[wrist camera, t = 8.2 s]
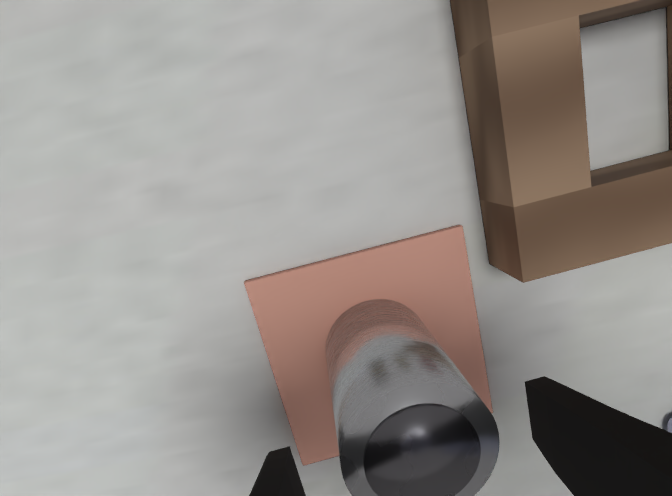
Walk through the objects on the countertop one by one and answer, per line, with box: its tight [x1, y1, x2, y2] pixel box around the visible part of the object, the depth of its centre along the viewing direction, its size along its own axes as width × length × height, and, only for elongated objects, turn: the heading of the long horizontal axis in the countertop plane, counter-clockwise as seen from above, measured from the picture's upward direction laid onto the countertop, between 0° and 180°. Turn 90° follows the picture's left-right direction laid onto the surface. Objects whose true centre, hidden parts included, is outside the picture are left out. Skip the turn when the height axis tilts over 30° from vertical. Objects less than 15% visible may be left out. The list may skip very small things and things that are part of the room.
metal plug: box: [325, 299, 499, 496], centre depth 13 cm, size 4×4×6 cm
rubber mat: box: [244, 225, 493, 466], centre depth 16 cm, size 9×9×1 cm
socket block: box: [450, 0, 672, 283], centre depth 14 cm, size 11×11×2 cm
